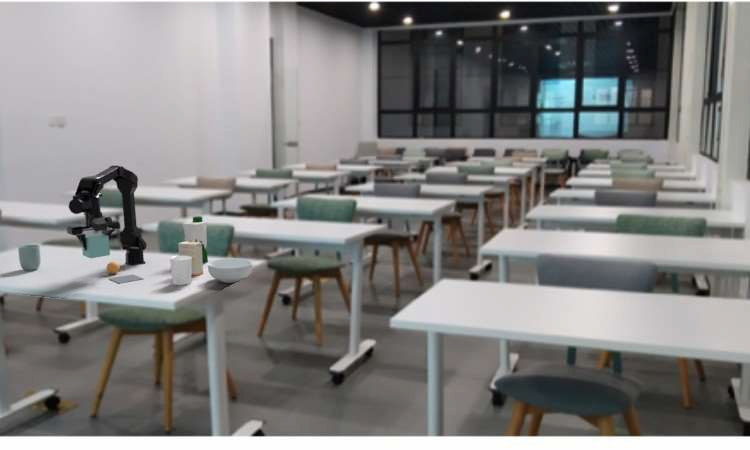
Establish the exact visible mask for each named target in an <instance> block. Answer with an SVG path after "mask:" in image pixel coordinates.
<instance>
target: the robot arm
mask: <svg viewBox="0 0 750 450" xmlns="http://www.w3.org/2000/svg"><path fill="white" fill-rule="evenodd" d="M110 181H114V182H115V183H116V188H117V190H118V191H119V193H120V194H121V201H122V202H121V203H122V216H123V229H122V231H120V232H119V236H120V237H119V238H120V240H119V241H120V244H121V247H122V250H123V251H125V250H126V251H125V252H126V253H125V263H124V264H126V265H127V264H128V265H130V266H135V265H142V264H146V261H145V259H144V258H145V257H144V251H145V250H146V249H147V242H146V241H145V239H143V235H142V231H141V230H140V229H139V227H138V226H137V216H136V215H137V213H136V203H135V192H136V190H137V188H138V181H139V178H138V175H136V174H135V173H134V172H133V171H130V170H129V169H127V168H125V167H124V166H122V165H110V166H109V167H108V168H106V169H104V170H103V171H100V172H99V173H97V174H95V175H90V176H88V175H87V176H84V177H82V178H80V180H79V182H78V185H77V188H76V190H75V193H74V195H73V196H72V199H71V200H70V201H69V202H68V203H69V204H68V209H69V211H70V212H71V213H72V214H75V215H78V214H79V215H80V214H82V213H83V215H84V218H85V222H84V226H81V225H78V224H74V225H72V224H71V225H68V226H67V227H66V233H67V234H69V235H71V236H75V237H76V238H77V240H78V241H79V242H80V244H81V246H83V248H84V250H85V251H86V250H87V247H86V241H85V235H87V234H86V233H84V232H87V231H95V232H100V231H102V232H103V233H102V234H105V235H108V236H109V240H110V238H111V235H112V234H113V233H114V232H116V230H119V229H121V223H120V222H119V221H118V220H115V219H112V216H106V217H104V215H103V212H101V199H100V198H101V197H103V193H101V190H103V189H104V185H106V184H107V183H109V182H110Z"/></svg>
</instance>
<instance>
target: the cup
mask: <svg viewBox="0 0 750 450" xmlns="http://www.w3.org/2000/svg"><path fill="white" fill-rule="evenodd" d="M17 249H18V250H17V251H18V260H19V265H20V267H21V269H22V270H24V271H27V272H29V271H31V272H32V271H35V270H38V269H39V268H40V266H41V261H42V260H41V258H42V257H41V246H40V245H39V244H24V245H20V246H18V248H17Z"/></svg>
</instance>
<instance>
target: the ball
mask: <svg viewBox="0 0 750 450" xmlns="http://www.w3.org/2000/svg"><path fill="white" fill-rule="evenodd" d="M120 269H121V267H120V264H119V263H118V262H117V261H110V262H108V263H107V265H106V272H107V273H109V274H110V275H115V274H118V272H119V271H120Z"/></svg>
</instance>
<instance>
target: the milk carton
mask: <svg viewBox="0 0 750 450" xmlns="http://www.w3.org/2000/svg"><path fill="white" fill-rule="evenodd" d="M181 225H182V227H183V232H184V242H185V241H187V242H202V261H203V264H204V263H209V259H208V258H209V257H208V244H207V243H208V241H207V228H208V227H207V226H208V221H206V220H205V221H204V220H203V216H201V215H199V216H193V217H192V220H190V221H186V222H182V223H181Z"/></svg>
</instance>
